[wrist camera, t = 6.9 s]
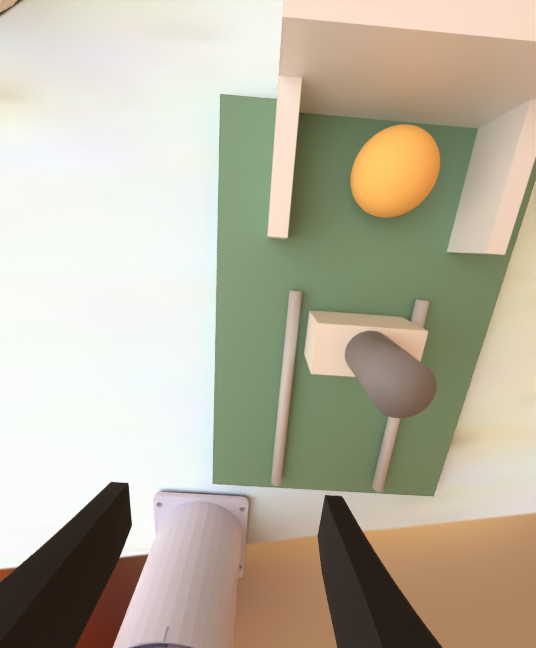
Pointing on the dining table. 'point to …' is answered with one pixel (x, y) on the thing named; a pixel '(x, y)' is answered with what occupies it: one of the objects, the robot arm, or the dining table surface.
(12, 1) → the condiment
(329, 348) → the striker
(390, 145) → the ball
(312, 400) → the pitch
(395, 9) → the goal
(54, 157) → the dining table surface
